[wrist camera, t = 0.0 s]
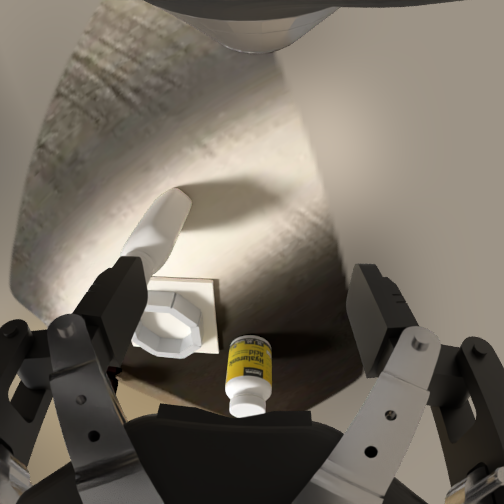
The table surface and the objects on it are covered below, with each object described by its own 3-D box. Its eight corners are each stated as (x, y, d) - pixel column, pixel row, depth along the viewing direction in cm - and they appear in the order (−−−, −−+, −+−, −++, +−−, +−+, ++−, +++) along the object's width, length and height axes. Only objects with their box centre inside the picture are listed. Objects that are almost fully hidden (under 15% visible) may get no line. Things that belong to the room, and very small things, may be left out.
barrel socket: (111, 274, 34) (102, 291, 31) (213, 279, 33) (209, 298, 31) (134, 342, 40) (128, 359, 38) (219, 350, 40) (216, 368, 38)
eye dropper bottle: (202, 223, 30) (174, 311, 20) (152, 237, 31) (109, 322, 21) (186, 182, 28) (144, 257, 17) (134, 200, 29) (77, 275, 18)
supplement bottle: (268, 331, 38) (269, 399, 30) (273, 357, 41) (275, 420, 32) (225, 335, 38) (217, 402, 30) (234, 360, 41) (229, 423, 33)
